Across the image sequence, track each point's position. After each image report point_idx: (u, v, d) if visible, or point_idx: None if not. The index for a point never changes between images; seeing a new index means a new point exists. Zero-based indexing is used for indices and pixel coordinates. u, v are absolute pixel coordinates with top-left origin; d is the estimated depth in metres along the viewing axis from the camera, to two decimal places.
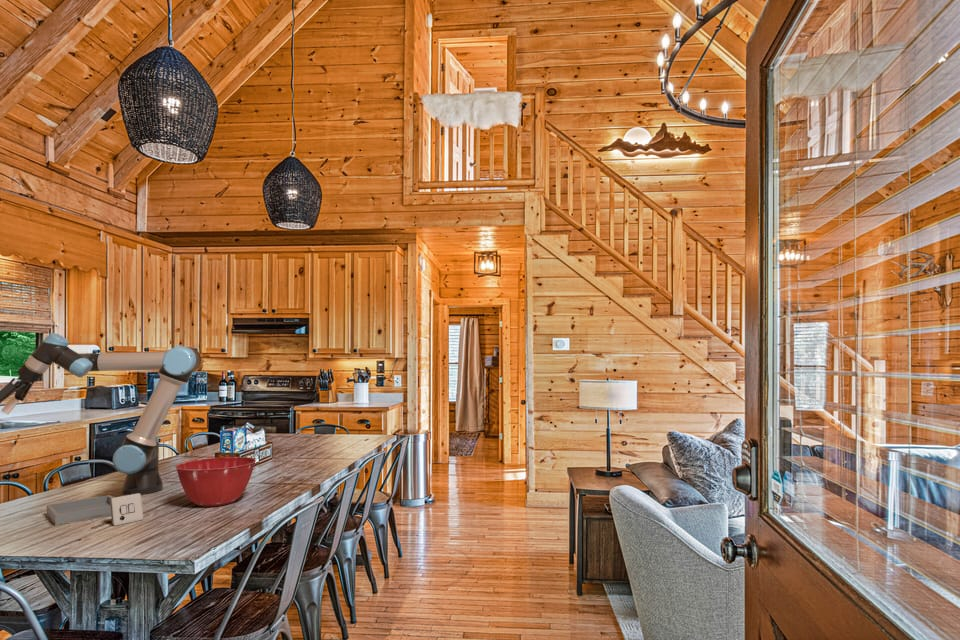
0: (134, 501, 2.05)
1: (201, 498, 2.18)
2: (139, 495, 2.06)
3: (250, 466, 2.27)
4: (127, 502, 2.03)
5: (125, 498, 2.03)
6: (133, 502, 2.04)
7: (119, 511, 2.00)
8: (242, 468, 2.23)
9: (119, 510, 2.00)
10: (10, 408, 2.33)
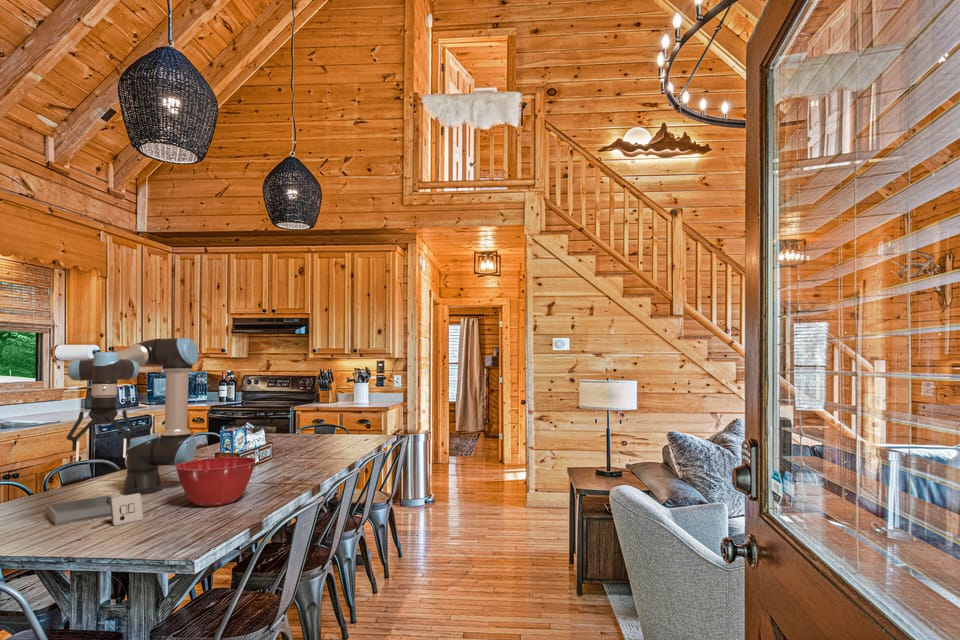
0: (134, 501, 2.05)
1: (201, 498, 2.18)
2: (139, 495, 2.06)
3: (250, 466, 2.27)
4: (127, 502, 2.03)
5: (125, 498, 2.03)
6: (133, 502, 2.04)
7: (119, 511, 2.00)
8: (242, 468, 2.23)
9: (119, 510, 2.00)
10: None
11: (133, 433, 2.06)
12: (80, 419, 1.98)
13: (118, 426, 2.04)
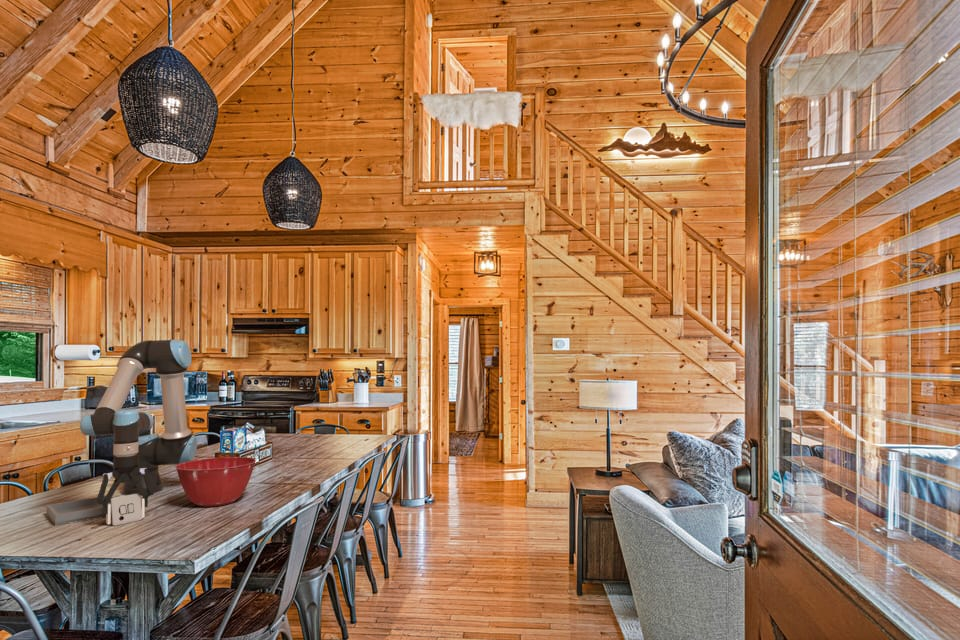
0: (133, 501, 2.05)
1: (201, 498, 2.18)
2: (138, 495, 2.06)
3: (250, 466, 2.27)
4: (127, 503, 2.03)
5: (124, 498, 2.03)
6: (132, 502, 2.04)
7: (118, 511, 2.00)
8: (242, 468, 2.23)
9: (118, 510, 2.00)
10: None
11: (151, 492, 2.08)
12: (106, 481, 1.99)
13: (138, 485, 2.05)
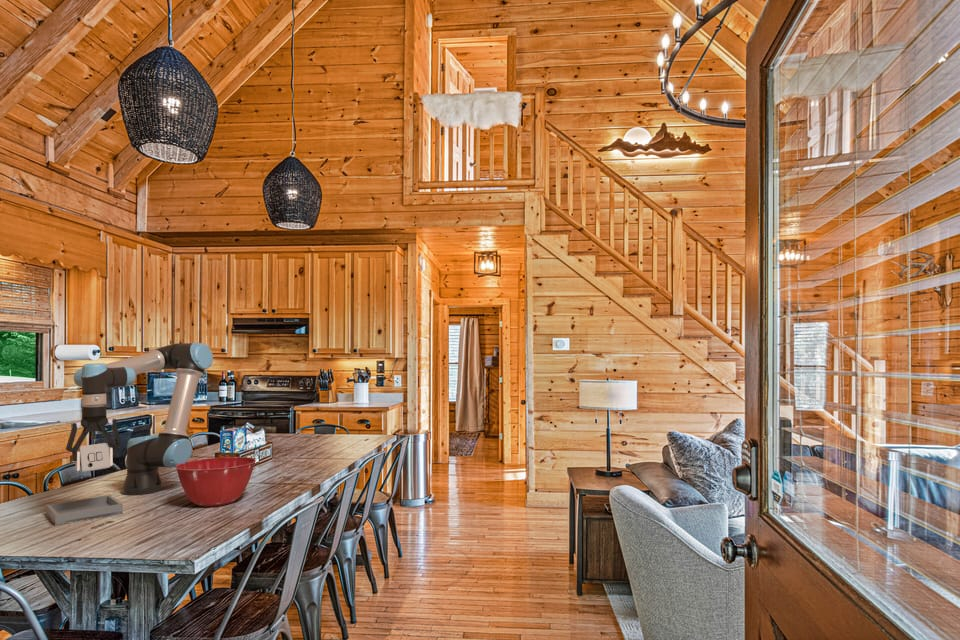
0: (102, 449, 2.15)
1: (201, 498, 2.18)
2: (107, 444, 2.16)
3: (250, 466, 2.27)
4: (95, 451, 2.13)
5: (93, 446, 2.13)
6: (101, 451, 2.14)
7: (87, 458, 2.10)
8: (242, 468, 2.23)
9: (87, 457, 2.10)
10: None
11: (119, 442, 2.18)
12: (75, 430, 2.08)
13: (107, 435, 2.15)
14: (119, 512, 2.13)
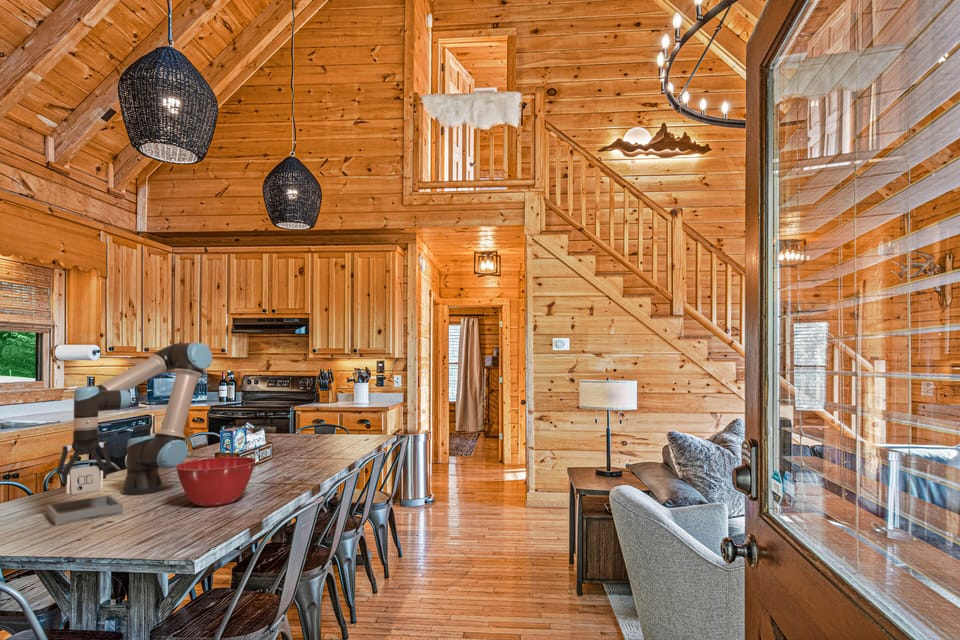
0: (92, 472, 2.16)
1: (201, 498, 2.18)
2: (97, 467, 2.18)
3: (250, 466, 2.27)
4: (85, 474, 2.14)
5: (83, 469, 2.14)
6: (91, 473, 2.15)
7: (77, 481, 2.11)
8: (242, 468, 2.23)
9: (77, 480, 2.12)
10: None
11: (109, 465, 2.19)
12: (65, 453, 2.10)
13: (97, 458, 2.17)
14: (119, 512, 2.13)
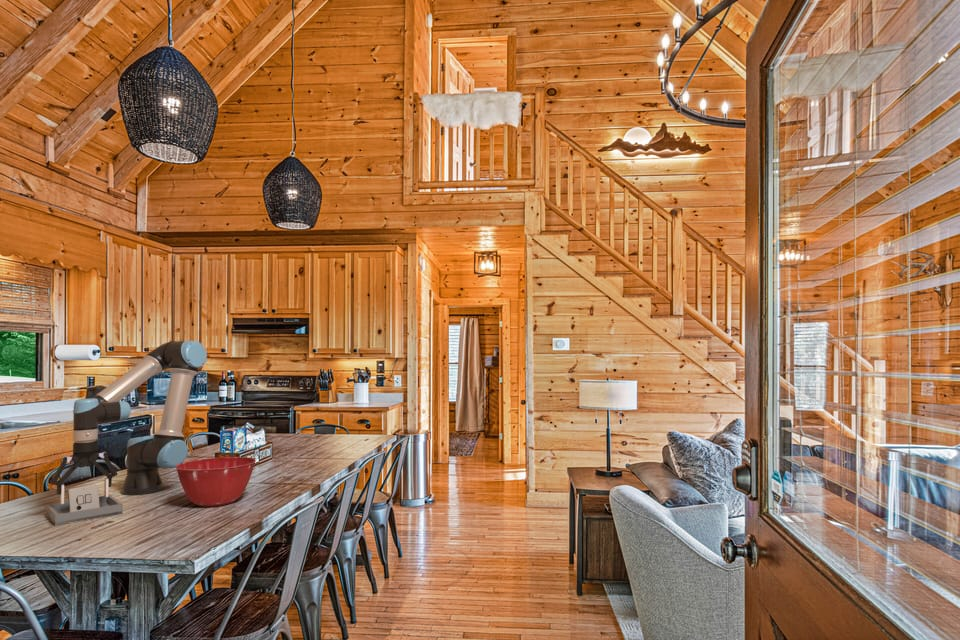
0: (91, 491, 2.15)
1: (201, 498, 2.18)
2: (96, 486, 2.17)
3: (250, 466, 2.27)
4: (84, 493, 2.14)
5: (82, 489, 2.14)
6: (90, 493, 2.15)
7: (76, 501, 2.11)
8: (242, 468, 2.23)
9: (76, 500, 2.11)
10: None
11: (114, 473, 2.20)
12: (64, 464, 2.10)
13: (100, 468, 2.17)
14: (119, 512, 2.13)
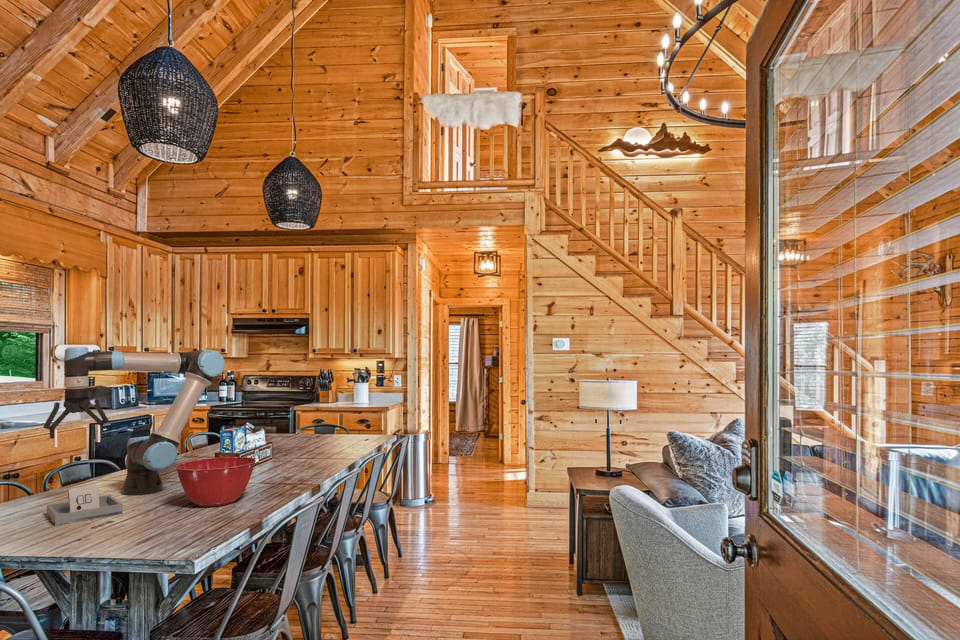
0: (91, 491, 2.15)
1: (201, 498, 2.18)
2: (96, 486, 2.17)
3: (250, 466, 2.27)
4: (84, 493, 2.14)
5: (82, 489, 2.14)
6: (90, 493, 2.15)
7: (76, 501, 2.11)
8: (242, 468, 2.23)
9: (76, 500, 2.11)
10: None
11: (106, 419, 2.27)
12: (56, 409, 2.16)
13: (92, 414, 2.24)
14: (119, 512, 2.13)
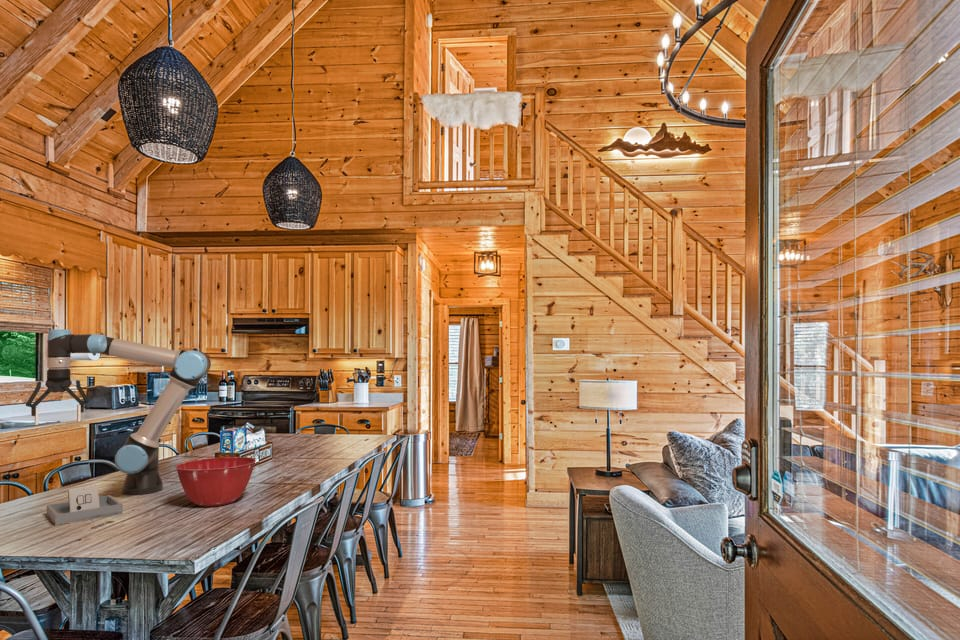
0: (91, 491, 2.15)
1: (201, 498, 2.18)
2: (96, 486, 2.17)
3: (250, 466, 2.27)
4: (84, 493, 2.14)
5: (82, 489, 2.14)
6: (90, 493, 2.15)
7: (76, 501, 2.11)
8: (242, 468, 2.23)
9: (76, 500, 2.11)
10: None
11: (86, 400, 2.36)
12: (38, 388, 2.26)
13: (73, 394, 2.33)
14: (119, 512, 2.13)
